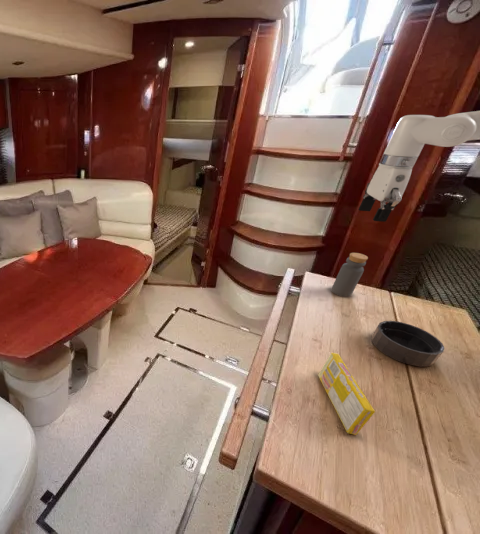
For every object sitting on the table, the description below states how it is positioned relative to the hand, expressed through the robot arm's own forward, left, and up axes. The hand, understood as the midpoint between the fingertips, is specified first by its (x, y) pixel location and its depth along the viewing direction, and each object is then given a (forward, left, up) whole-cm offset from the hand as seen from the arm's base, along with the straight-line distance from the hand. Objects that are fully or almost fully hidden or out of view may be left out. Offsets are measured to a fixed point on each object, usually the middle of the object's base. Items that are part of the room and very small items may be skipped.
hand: (371, 215), depth 99 cm
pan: (-4, +32, -28) cm, 43 cm away
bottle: (0, +4, -28) cm, 28 cm away
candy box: (+20, +56, -28) cm, 66 cm away
